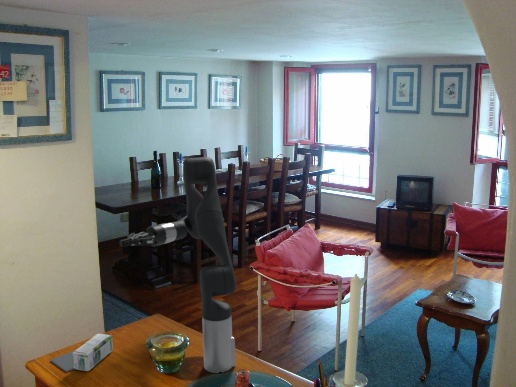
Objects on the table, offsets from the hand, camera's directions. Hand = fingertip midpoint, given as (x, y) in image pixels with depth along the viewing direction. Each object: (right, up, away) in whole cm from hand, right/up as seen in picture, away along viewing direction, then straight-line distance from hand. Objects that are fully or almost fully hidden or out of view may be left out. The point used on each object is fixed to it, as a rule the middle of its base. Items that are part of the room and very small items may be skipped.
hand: (120, 243), depth 185 cm
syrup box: (-4, -33, -5) cm, 33 cm away
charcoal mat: (-12, -37, -10) cm, 40 cm away
